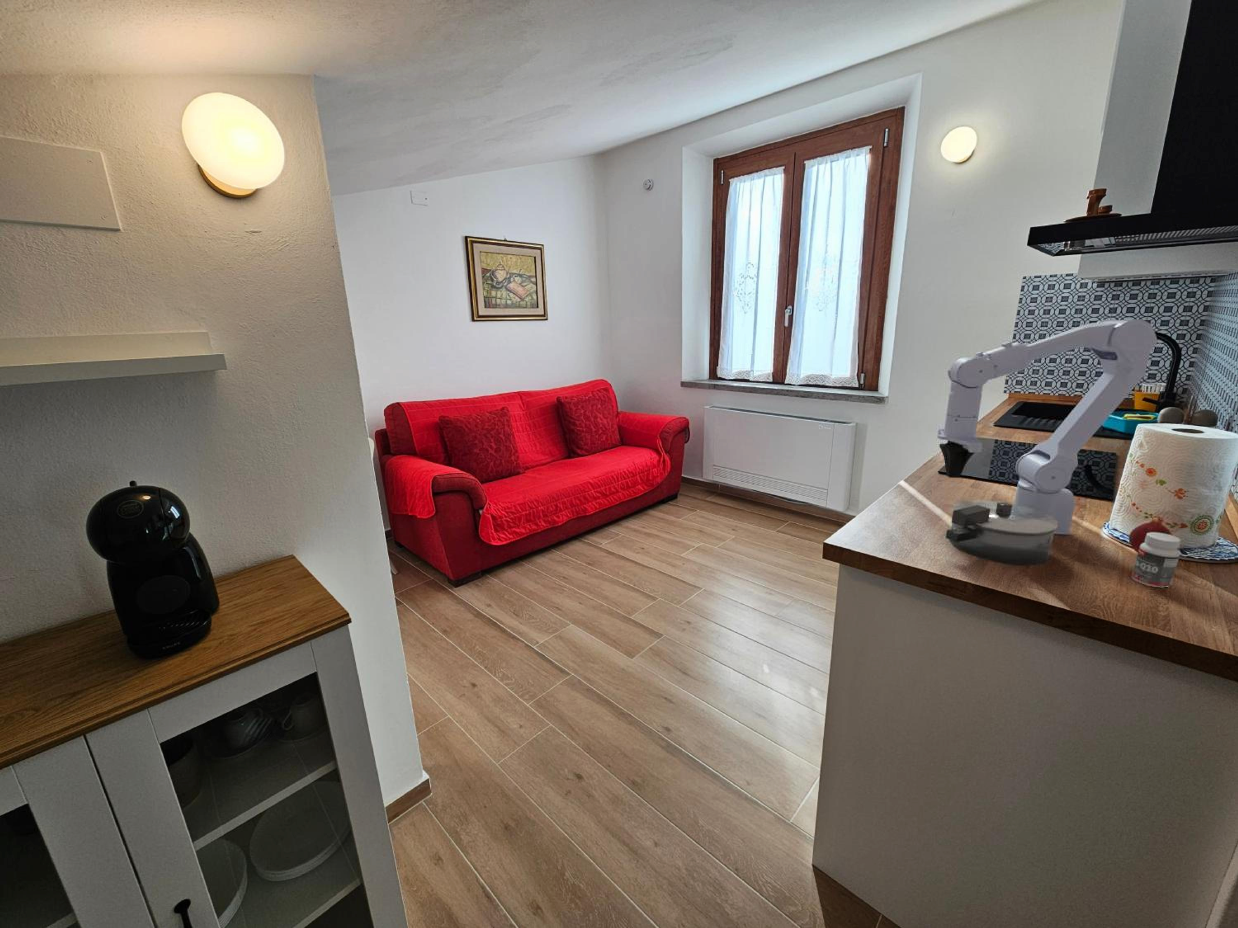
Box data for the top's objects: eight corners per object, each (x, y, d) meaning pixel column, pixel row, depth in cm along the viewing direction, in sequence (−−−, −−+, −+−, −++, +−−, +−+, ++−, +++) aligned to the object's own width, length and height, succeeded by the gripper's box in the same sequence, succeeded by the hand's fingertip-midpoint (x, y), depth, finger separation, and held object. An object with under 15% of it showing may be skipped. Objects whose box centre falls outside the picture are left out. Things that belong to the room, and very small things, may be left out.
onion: (1177, 566, 94) (1189, 525, 91) (1139, 564, 95) (1150, 523, 93) (1152, 553, 99) (1163, 513, 97) (1117, 551, 100) (1126, 512, 98)
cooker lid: (987, 499, 112) (989, 484, 111) (1077, 525, 97) (1081, 508, 96) (916, 514, 104) (918, 499, 103) (1003, 545, 89) (1006, 528, 89)
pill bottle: (1123, 576, 91) (1134, 531, 88) (1148, 574, 91) (1160, 530, 89) (1152, 589, 86) (1165, 543, 84) (1178, 588, 86) (1192, 541, 84)
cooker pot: (986, 526, 113) (991, 500, 111) (1069, 556, 98) (1075, 526, 97) (912, 541, 106) (916, 514, 105) (989, 575, 92) (995, 544, 90)
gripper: (926, 409, 118) (919, 467, 121) (959, 421, 104) (949, 486, 107) (960, 409, 117) (951, 467, 120) (997, 421, 103) (986, 487, 107)
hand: (952, 476), depth 114 cm, fingers closed
